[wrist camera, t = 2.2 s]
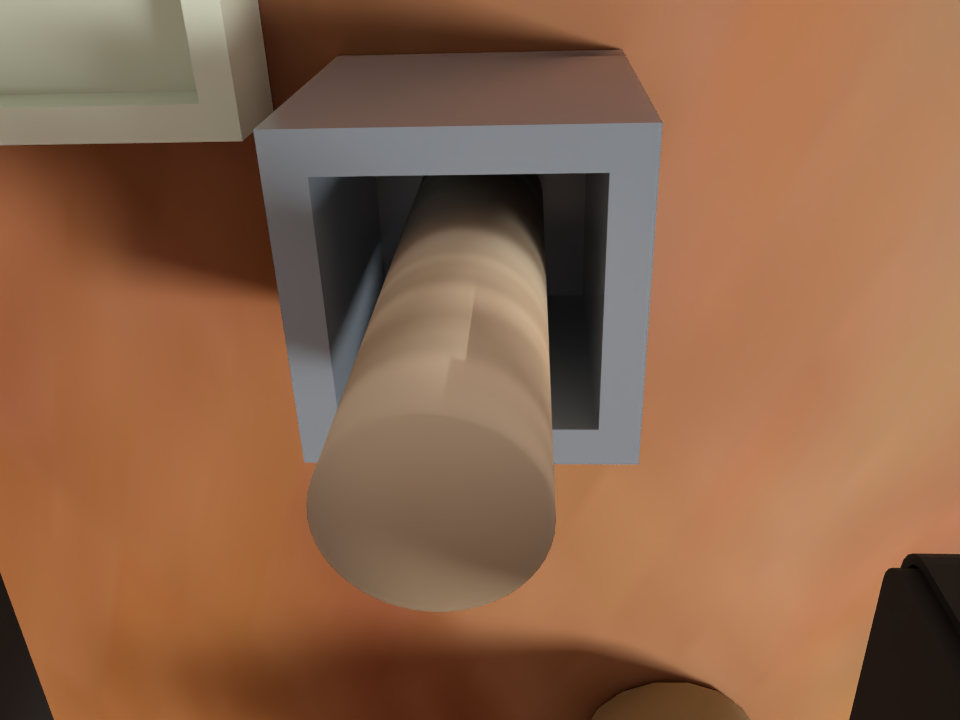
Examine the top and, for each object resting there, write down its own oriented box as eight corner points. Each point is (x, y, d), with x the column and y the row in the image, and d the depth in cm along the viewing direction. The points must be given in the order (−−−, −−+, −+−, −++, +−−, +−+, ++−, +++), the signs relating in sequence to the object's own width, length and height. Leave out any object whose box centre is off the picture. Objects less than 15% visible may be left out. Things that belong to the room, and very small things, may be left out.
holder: (337, 56, 20) (252, 129, 14) (622, 49, 20) (662, 122, 14) (364, 311, 23) (304, 462, 17) (609, 310, 23) (638, 464, 17)
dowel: (415, 140, 20) (290, 413, 10) (543, 138, 20) (557, 414, 10) (422, 259, 22) (321, 609, 11) (542, 258, 22) (554, 613, 11)
